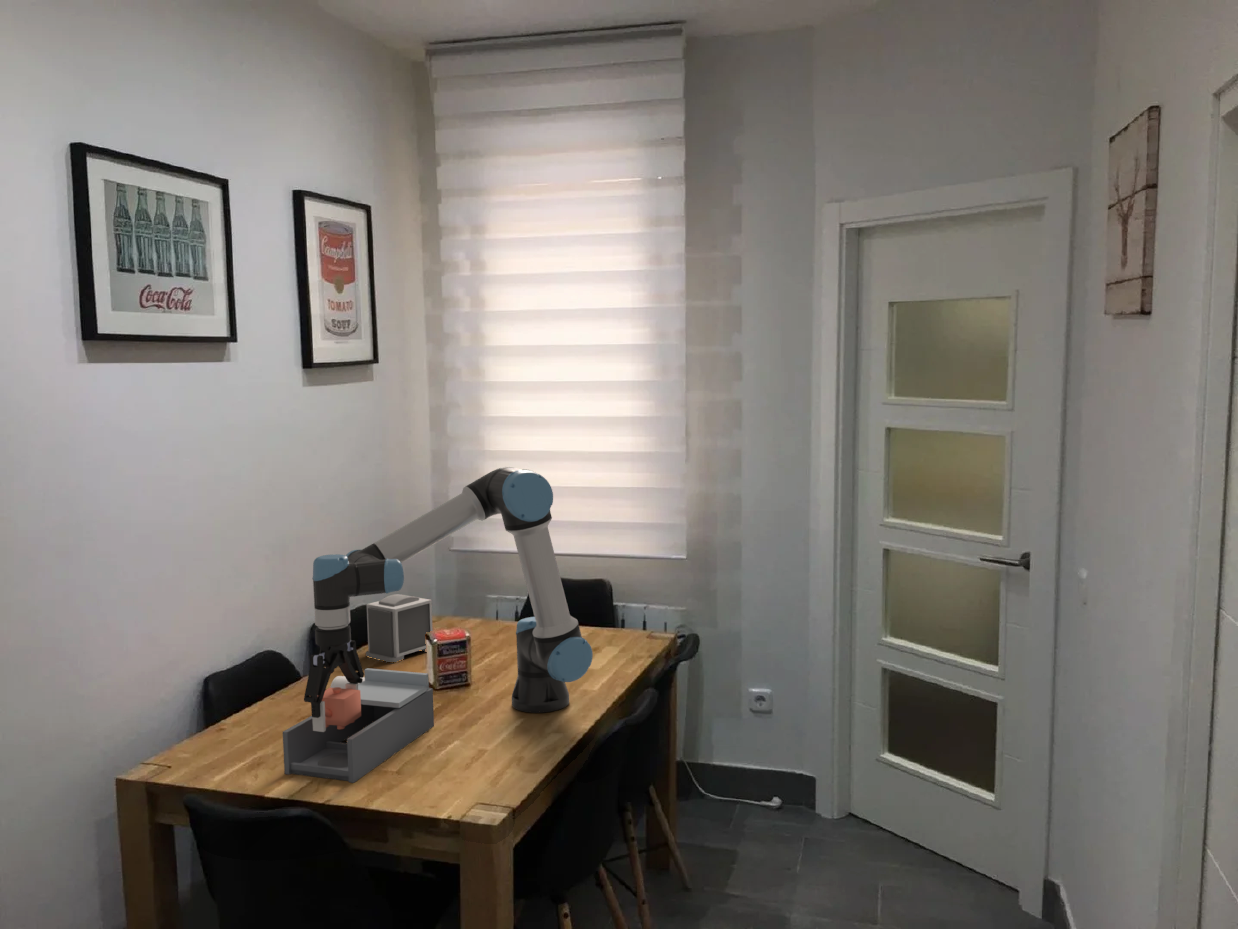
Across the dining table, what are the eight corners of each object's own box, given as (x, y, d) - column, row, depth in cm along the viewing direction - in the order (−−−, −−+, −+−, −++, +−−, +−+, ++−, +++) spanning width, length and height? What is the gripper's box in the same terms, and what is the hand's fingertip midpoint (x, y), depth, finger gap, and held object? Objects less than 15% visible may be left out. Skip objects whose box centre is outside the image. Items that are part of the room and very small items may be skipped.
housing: (434, 726, 239) (432, 688, 238) (353, 782, 206) (351, 739, 205) (372, 719, 245) (371, 683, 244) (284, 774, 211) (282, 731, 210)
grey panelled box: (409, 643, 316) (407, 588, 314) (437, 649, 308) (435, 593, 306) (364, 657, 301) (361, 599, 299) (392, 663, 293) (390, 604, 292)
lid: (428, 689, 237) (428, 673, 237) (399, 708, 224) (398, 691, 223) (367, 683, 242) (367, 668, 242) (335, 701, 229) (334, 685, 229)
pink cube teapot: (305, 733, 210) (304, 696, 209) (335, 714, 222) (334, 679, 221) (337, 736, 208) (335, 699, 207) (366, 717, 220) (365, 682, 219)
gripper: (349, 611, 226) (352, 702, 227) (283, 638, 203) (287, 738, 204) (377, 613, 223) (380, 705, 225) (314, 640, 200) (318, 742, 202)
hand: (336, 721), depth 215 cm, fingers closed on pink cube teapot, 12 cm apart
